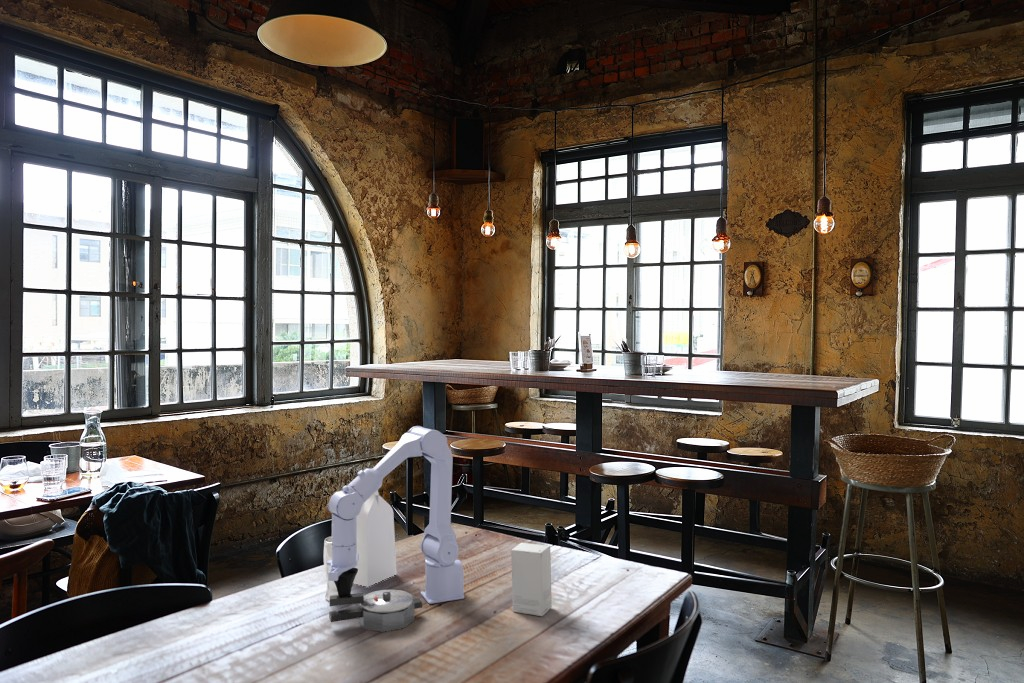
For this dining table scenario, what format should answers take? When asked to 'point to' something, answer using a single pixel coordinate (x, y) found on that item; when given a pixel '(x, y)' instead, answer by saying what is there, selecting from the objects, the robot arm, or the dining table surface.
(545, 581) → the skincare box
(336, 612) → the pot
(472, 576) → the dining table surface
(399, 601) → the lid
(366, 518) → the milk
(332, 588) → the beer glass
